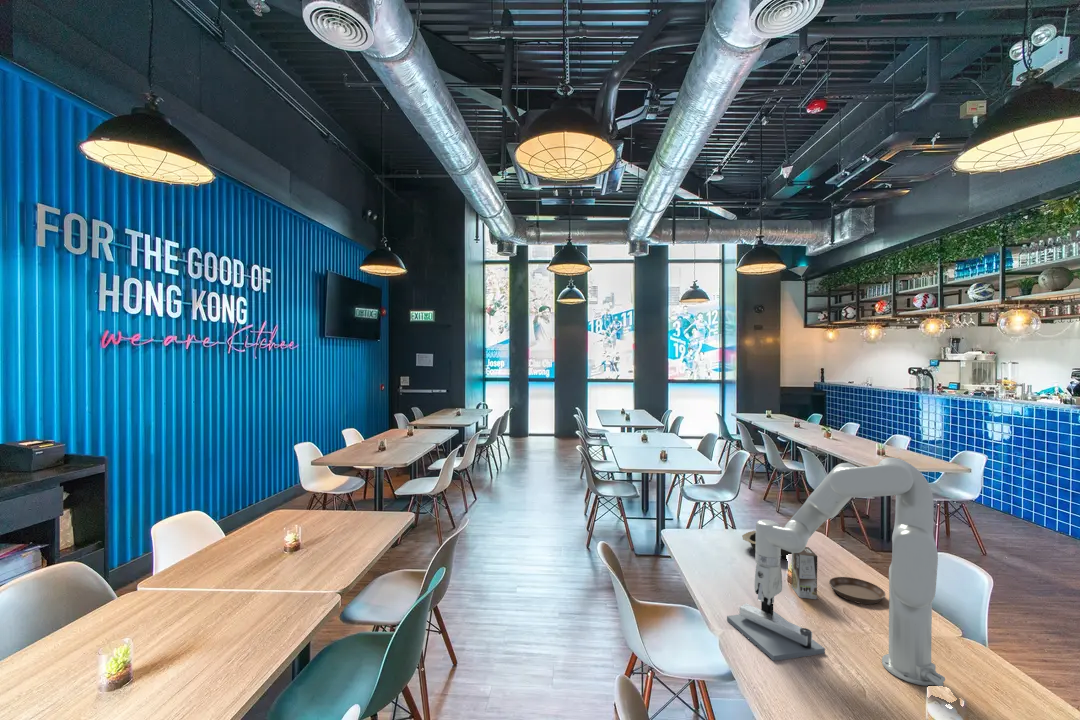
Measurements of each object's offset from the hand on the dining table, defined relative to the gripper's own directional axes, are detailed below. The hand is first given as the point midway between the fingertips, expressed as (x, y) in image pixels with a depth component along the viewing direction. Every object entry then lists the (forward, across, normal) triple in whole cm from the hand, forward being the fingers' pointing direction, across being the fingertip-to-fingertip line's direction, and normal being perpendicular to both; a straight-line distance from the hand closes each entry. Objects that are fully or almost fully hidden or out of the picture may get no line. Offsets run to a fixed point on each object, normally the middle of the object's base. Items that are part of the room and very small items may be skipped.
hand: (767, 614), depth 154 cm
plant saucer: (+4, +50, -10) cm, 51 cm away
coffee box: (+4, +35, +3) cm, 35 cm away
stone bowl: (+4, +63, +29) cm, 70 cm away
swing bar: (+2, -4, -4) cm, 6 cm away
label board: (+4, -4, -4) cm, 7 cm away
